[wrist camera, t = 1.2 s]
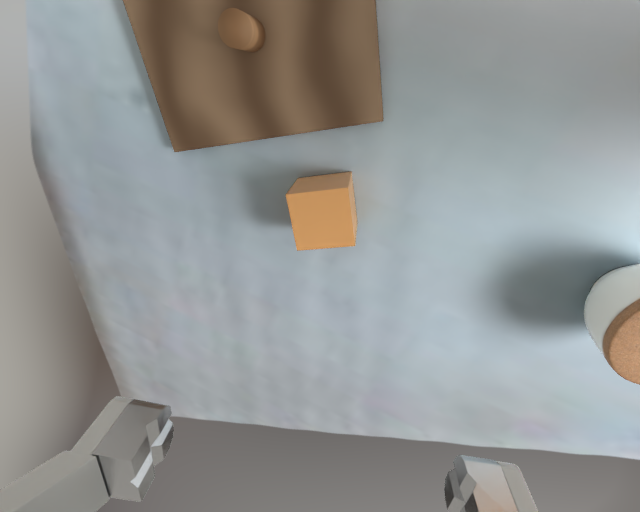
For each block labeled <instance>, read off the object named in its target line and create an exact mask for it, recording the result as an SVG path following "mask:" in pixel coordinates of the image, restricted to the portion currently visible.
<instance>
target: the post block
mask: <svg viewBox="0 0 640 512" xmlns="http://www.w3.org/2000/svg"><path fill="white" fill-rule="evenodd" d="M123 2H124V5H125V8H126V11H127V14H128V17H129V20H130V23H131V26H132V29H133V31H134V34H135V37H136V40H137V43H138V46H139V49H140V52H141V55H142V58H143V61H144V64H145V67H146V70H147V73H148V76H149V79H150V82H151V84H152V87H153V90H154V93H155V96H156V99H157V102H158V105H159V108H160V111H161V114H162V117H163V120H164V123H165V126H166V129H167V132H168V135H169V137H170V140H171V143H172V146H173V149H174V152H180V151H186V150H193V149H200V148H206V147H213V146H220V145H226V144H233V143H240V142H247V141H253V140H260V139H267V138H273V137H280V136H287V135H293V134H300V133H307V132H313V131H320V130H327V129H334V128H340V127H347V126H354V125H360V124H367V123H374V122H380V121H383V106H382V91H381V76H380V61H379V46H378V30H377V15H376V0H123Z"/></svg>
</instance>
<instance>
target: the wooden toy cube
mask: <svg viewBox="0 0 640 512" xmlns="http://www.w3.org/2000/svg"><path fill="white" fill-rule="evenodd" d="M286 199H287V204H288V208H289V213H290V218H291V223H292V228H293V233H294V237H295V242H296V247H297V251H298V250H310V249H323V248H335V247H347V246H355V242H356V232H357V215H356V206H355V197H354V188H353V179H352V171H351V172H343V173H335V174H327V175H318V176H310V177H302V178H298V179H297V180H296V181H295V183H294V184H293V185H292V187H291V188H290V189H289V191H288V192H287V194H286Z"/></svg>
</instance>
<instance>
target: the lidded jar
mask: <svg viewBox="0 0 640 512" xmlns="http://www.w3.org/2000/svg"><path fill="white" fill-rule="evenodd" d="M584 319H585V324H586V327H587V330H588V332H589V334H590V336H591V338H592V339H593V341H594V343H595V344H596V346H597V348H598V349H599V350H600V352H601V353H602V354H603V355H604V356H605V358H606V360H607V362H608V363H609V365H610V366H611V367H612V368H613V369H614V370H615V371H616V372H617V374H618V375H620V376H621V377H623V378H624V379H626V380H628V381H631V382H633V383H636V384H640V264H635V265H631V266H625V267H620V268H617V269H614V270H612V271H610V272H608V273H606V274H604V275H603V276H602V277H600V278H599V279H598V280H597V281H596V282H595V283H594V285H593V286H592V288H591V290H590V293H589V295H588V296H587V299H586V302H585V307H584Z"/></svg>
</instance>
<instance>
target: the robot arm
mask: <svg viewBox="0 0 640 512" xmlns="http://www.w3.org/2000/svg"><path fill="white" fill-rule="evenodd" d="M171 414H172V412H171V407H170V406H168V405H163V404H157V403H152V402H146V401H141V400H136V399H131V398H125V397H119V396H117V397H115V398H114V399H112V400H111V401H110V402H109V403H108V404H107V406H106V407H105V408H104V409H103V411H102V412H101V413H100V414H99V416H98V417H97V418H96V420H95V421H94V422H93V423H92V424H91V426H90V427H89V428H88V430H87V431H86V432H85V433H84V435H83V436H82V437H81V438H80V440H79V441H78V442H77V443H76V445H75V446H74V447H73V448H72V450H71V451H63V452H62V453H60V454H58V455H57V456H55V457H53V458H52V459H50V460H48V461H47V462H45V463H43V464H42V465H40V466H38V467H37V468H35V469H33V470H32V471H30V472H28V473H27V474H25V475H23V476H22V477H20V478H18V479H17V480H15V481H13V482H12V483H10V484H8V485H7V486H5V487H3V488H2V489H0V512H96V511H97V510H98V509H99V508H100V507H102V506H103V505H104V504H105V503H106V502H107V501H108V500H109V497H110V498H117V499H124V500H130V501H137V502H142V500H143V498H144V496H145V494H146V492H147V490H148V489H149V487H150V485H151V483H152V481H153V479H154V477H155V470H154V466H155V465H157V464H158V463H159V462H161V461H162V460H163V459H164V458H165V456H166V454H167V452H168V450H169V448H170V445H171V441H172V438H173V432H174V427H173V423H172V422H171V421H170V420H169V418H170V416H171ZM453 463H454V467H455V469H453V470H451V471H449V472H448V474H447V476H446V479H445V488H444V491H445V501H446V506H447V510H448V511H449V512H538V510H537V508H536V505H535V503H534V501H533V498H532V496H531V494H530V491H529V489H528V487H527V484H526V482H525V480H524V477H523V475H522V473H521V470H520V469H519V468H518V466H517V465H514V464H511V463H505V462H499V461H495V460H490V459H483V458H477V457H470V456H463V455H458V456H457V457H456V458H455V460H454V462H453Z"/></svg>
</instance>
